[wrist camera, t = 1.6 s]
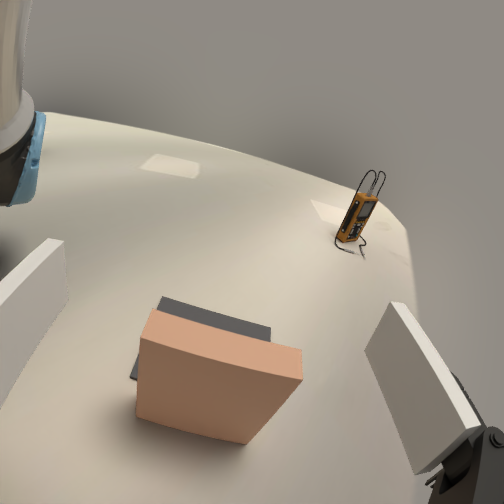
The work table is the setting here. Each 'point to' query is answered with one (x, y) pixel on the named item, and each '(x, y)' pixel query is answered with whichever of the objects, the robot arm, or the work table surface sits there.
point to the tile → (211, 378)
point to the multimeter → (357, 215)
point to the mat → (209, 322)
